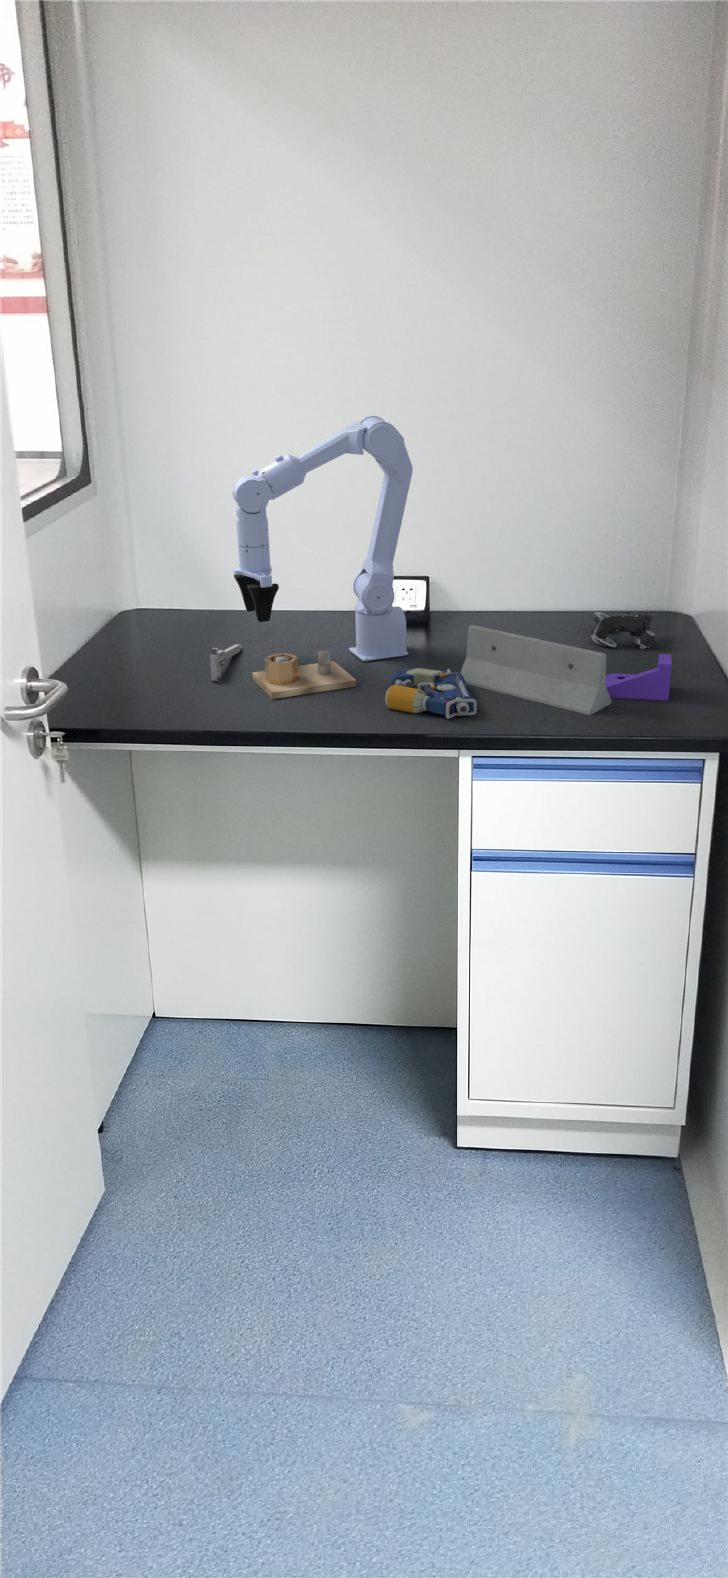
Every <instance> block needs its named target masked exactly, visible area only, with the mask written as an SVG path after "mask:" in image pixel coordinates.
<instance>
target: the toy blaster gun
mask: <svg viewBox="0 0 728 1578" xmlns="http://www.w3.org/2000/svg"><path fill="white" fill-rule="evenodd" d="M391 681H392V685H390V686H389V688H388V689H387V690H386V693H385V701H384V702H385V705H386V706H387V708H388V709H389V710H393V711H394V710H395V711H399V712H405V713H408V714H409V713H410V714H421V713H423V712H427V711H428V712H430V713H433V714H438V715H441V716H445V718H446V719H447V720H448V719H449V720H450V719H451V718H454V717H456V716H457V717H459V716H475V715H476V714H477V708H478V707H477V705H478V702H477V700H476V699H475V698H473V697H472V695H471V692H470V691H469V690H468V687H467V686H466V684H465V680H464V678H463V675H462V674H461V672H459V671H456V672H452V671H451V669H450V668H448V669H444V670H443V671H442V670H437V669H435V670H434V669H427V668H419V667H417V668H416V667H412V668H408V669H404V670H399V671H396V672H393V674H392V676H391Z"/></svg>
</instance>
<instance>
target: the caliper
mask: <svg viewBox="0 0 728 1578" xmlns="http://www.w3.org/2000/svg"><path fill="white" fill-rule="evenodd" d="M241 649H243V646H242V645H241V644H237V643H236V644H233V645H232V646H229V647H228V648H226V649H223V650H221V649H219V647H212V648H210V655H209V656H210V657H209V658H210V659H209V660H210V661H209V663H210V665H209V666H210V675H211V676H210V678H211V682H218V680H220V679H221V666H224V665H226V660H228V659H230V658H231V657H233V656H235V655H237V654H239V653H240V651H241Z"/></svg>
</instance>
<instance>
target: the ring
mask: <svg viewBox="0 0 728 1578" xmlns="http://www.w3.org/2000/svg"><path fill="white" fill-rule="evenodd" d="M281 656H284V657H288V661H286V662H276V658H277V657H281ZM263 659H264V671H265V677H266V681H267V682H268V683H269V684H276V685H285V684H292V683H294V682H296V681H297V680H299V670H298V666H299V658H298V657H297V656H296V655H295V654H292V653H283V652H281V653H275V654H273V653H272V654H270V655H268V656H266V657H265V658H263Z"/></svg>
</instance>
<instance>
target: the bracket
mask: <svg viewBox="0 0 728 1578" xmlns="http://www.w3.org/2000/svg"><path fill="white" fill-rule="evenodd" d="M672 660H673V659H672V654H667V653H666V654H665V653H659V654H658V658H657V667H656V668H653V669H649V670H646V671H643V672H640V673H637V674H631V673H612V672H611V673H609V674H606V683H605V686H606V688H607V691H608V693H609V696H610V698H612V699H616V698H617V699H633V700H653V701H654V700H655V701H656V700H657V701H669V696H670V688H671V687H670V685H671V678H672V665H673V664H672Z"/></svg>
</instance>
